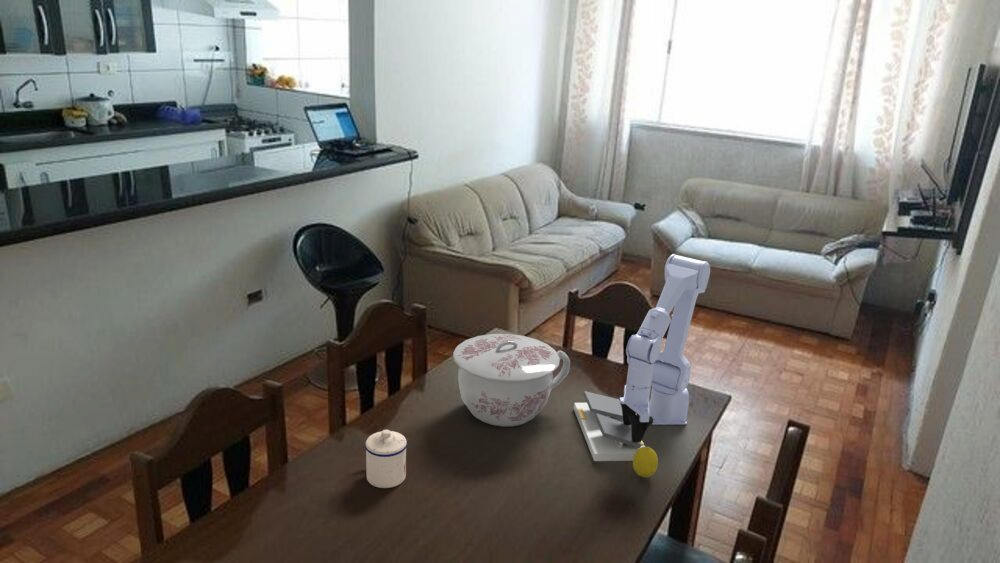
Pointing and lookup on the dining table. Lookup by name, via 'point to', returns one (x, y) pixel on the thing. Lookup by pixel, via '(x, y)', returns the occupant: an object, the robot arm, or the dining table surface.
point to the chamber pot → (507, 377)
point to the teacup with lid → (386, 459)
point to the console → (602, 438)
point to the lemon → (645, 461)
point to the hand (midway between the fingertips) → (632, 432)
